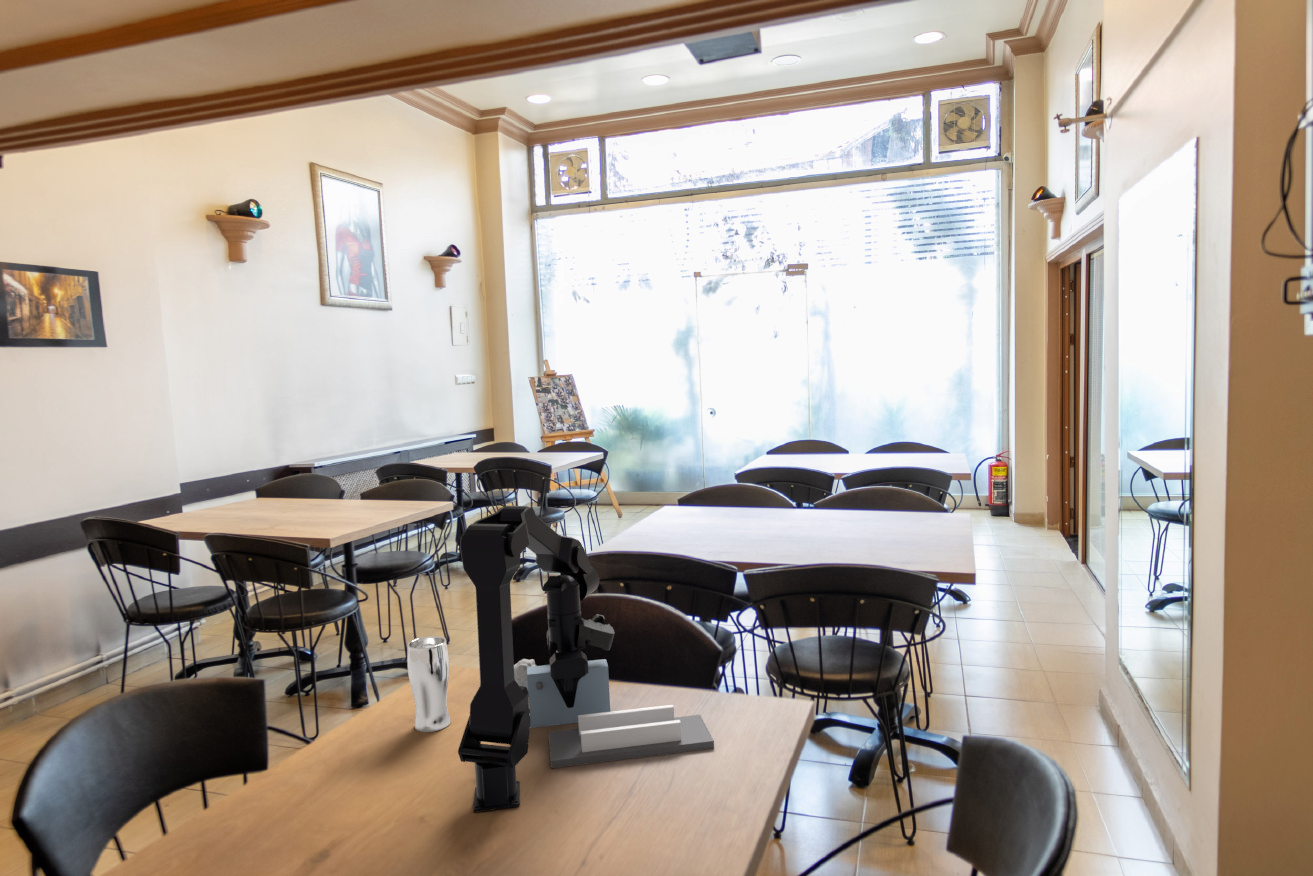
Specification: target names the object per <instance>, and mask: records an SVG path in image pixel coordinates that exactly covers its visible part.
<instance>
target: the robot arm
mask: <svg viewBox="0 0 1313 876" xmlns="http://www.w3.org/2000/svg"><path fill="white" fill-rule="evenodd" d="M458 546H459V551H460V555H461V562H462V568H463V571H464V572H465V573H466V575H467V577H468V578H469V580H470V581H471V583H472V584H473V585H474V588H475V602H476V603H475V605H476V621H477V624H476V625H477V642H478V645H477V646H478V658H479V659H478V663H479V664H478V665H479V680H480V682H479V684H480V685H479V687H478V689H477V691H476V693H475V695H474V696H473V699H472V700H471V701H470V705H469V717H468V718H467V722H466V724H465V729H464V731H463V734H462V738H461V741H460V744H459V746H458V750H457V753H458V756H459V759H460V762H461V763H467V762H468V763H473V764H474V772H475V773H474V774H475V785H476V786H475V787H474V788H475V789H474V797H473V805H472V811H473V813H474V812H475V813H478V812H479V813H480V812H487V811H494V810H500V809H501V810H503V809H509V808H517V807H519V806H520V805H521V782H520V781H519V780H517V771H516V770H517V768H516V766H517V765H518V764H519V763H520V762H521V761H522V759H524V758H525V756H526V755H527V754H528V752H529V744H530V733H531V732H530V731H531V728H530V722H531V720H530V710H529V697H528V696H529V692H528V690H527V688H526V687H524V686H519V685H518V684H517V682H516V681H515V678H514V665H515V664H514V644H513V643H514V642H513V637H514V636H513V621H512V620H513V618H512V599H511V597H512V596H511V595H512V594H511V582H512V579H513V577H515V574H516V572H517V571H518V569H519V567H520V565H521V555H522V553H523V552H524V551H525V549H526V548H528V549H529V550H530V551H531V552H532V553H534V554H535V563H536V564H537V565H538V567H539V569H540V570H541V571H542V572H545V573H549V574H558V575H549V576H548V579H547V580H546V582H544V584H543V586H542V588H541V589H542V591H543V592H546V603H547V604H546V605H547V626H548V630H547V631H546V639H547V640H546V641H547V642H546V644H547V647H548V648H547V650H548V653H549V655H550V658H549V665H550V673H551V677H552V679H553V681H554V683H555V684H556V686H557V688H558V690H559V692H560V694H561V696H562V698H563V700H564V702H565V704H566V706H567V708H573V707H574V703H575V697H576V691H577V686H578V681H579V680H580V679H581V678H582V677H584V676H586V674H587V673H588V661H589V660H588V657H587V655H586V653H584V652H583V651H582V649H586V645H588V646H592V647H596V648H599V649H601V650H603V651H610V650H611V647H612V644H613V641H614V640H613V639H614V638H615V633H616V632H615V629H614V627H613V626H611V624H610V623H608V624H607V623H606V618H605V615H602V614H598V613H596V614H595V615H593V617H592V618H589V619H584V617H583V613H582V611H581V602H582V601H583V600H584V599H586V598H587V597H589V596H590V595H591V594H593V592H595V591H596V590H597V589H598V587H599V586H600V585H599V584H600V576H599V574H598V572H597V570H596V569H595V568H594V567H593V566H592V564H591V562H590V560H589V557H588V555H587V552H586V550H585V548H584V546H583V545H582V542H581V541H580V540H579V539H577V538H574V537H571V536H566V535H561V534H558V533H557V532H556V531H555V530H554V529H553V528H552V527H550V526H549V525H548V524H547V523H546V522H545V521H543V520H542V519H541V518H540V517H539V516H538V515H537V514H536V512H535V509H534V508H533V507H530V506H528V505H505V506H501V507H500V508H499V509H498V510H497V511H495V512H494V513H492V514H489V515H487V516H485V517H482V518H480V519H477V520H475V521H474V522H473V523H471V524H469V525H468V526H467V528H466V529H465V530H464V531H463V532H462V534H461V535H460V538H459V543H458ZM559 574H560V575H559ZM482 742H483V743H482ZM488 743H491V744H488ZM492 743H493V744H492ZM496 744H497V745H496ZM498 744H503V745H498ZM506 745H509V746H506Z"/></svg>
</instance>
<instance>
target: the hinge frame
mask: <svg viewBox="0 0 1313 876" xmlns="http://www.w3.org/2000/svg"><path fill="white" fill-rule="evenodd" d="M577 724H578V728H575V729H566V730H557V731H549V732H548V747H549V760H550V769H556V768H564V767H571V766H572V767H573V766H581V765H588V764H589V765H590V764H596V763H603V762H604V763H605V762H612V761H619V760H620V761H621V760H629V759H637V758H645V757H652V756H661V755H668V754H677V753H685V752H693V751H701V750H709V749H715V740H714V738H713V736H712V734H711V733H710V731H709V729H708V727H707V725H706V723H705V721H704V719H703V718H702V716H701V714H695V715H694V714H693V715H685V716H679V717H677V716H675V707H674V704H666V705H657V706H656V705H655V706H649V707H648V706H647V707H641V708H632V709H631V708H630V709H622V710H621V709H620V710H616V711H615V710H614V711H610V712H603V713H595V714H586V715H578V723H577Z"/></svg>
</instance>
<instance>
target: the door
mask: <svg viewBox="0 0 1313 876" xmlns="http://www.w3.org/2000/svg"><path fill="white" fill-rule="evenodd" d="M587 661H588V673H587V674H586V676H584V677H582V678H581V679H580V680H579V681H578V686H577V691H576V697H575V703H574V707H573V708H567V706H566V704H565V702H564V700H563V698H562V696H561V694H560V692H559V690H558V688H557V686H556V684H555V683H554V681H553V679H552V677H551V673H550V664H544V665H537V666H533V667H527V680H528V692H529V696H528V704H529V710H530V714H529V715H530V720H531V722H530V729H532V728H533V729H535V728H541V727H549V726H551V727H552V726H558V725H568V724H576V723H577V724H578V715H586V714H595V713H603V712H611V696H610V680H609V679H610V677H609V665H608V662H607V659H605V658H604V659H602V658H601V659H594V660H587Z"/></svg>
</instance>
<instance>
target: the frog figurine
mask: <svg viewBox="0 0 1313 876" xmlns="http://www.w3.org/2000/svg"><path fill="white" fill-rule="evenodd" d="M533 666H538V665H537V664H536V662H535V659H533V658H531V659H527V658H522V659H520V660H518V662H517V663H515V664H514V678H515V681H516V682H517V684H518V685H519V686H524V687H526V688H527V690H528V680H527V667H533Z"/></svg>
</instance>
